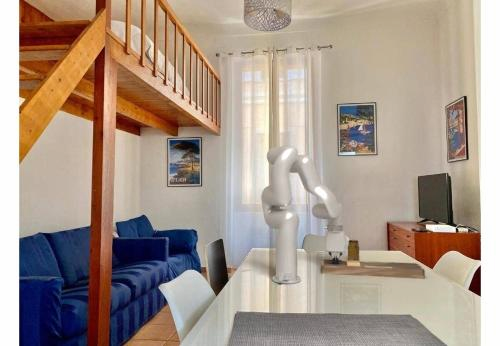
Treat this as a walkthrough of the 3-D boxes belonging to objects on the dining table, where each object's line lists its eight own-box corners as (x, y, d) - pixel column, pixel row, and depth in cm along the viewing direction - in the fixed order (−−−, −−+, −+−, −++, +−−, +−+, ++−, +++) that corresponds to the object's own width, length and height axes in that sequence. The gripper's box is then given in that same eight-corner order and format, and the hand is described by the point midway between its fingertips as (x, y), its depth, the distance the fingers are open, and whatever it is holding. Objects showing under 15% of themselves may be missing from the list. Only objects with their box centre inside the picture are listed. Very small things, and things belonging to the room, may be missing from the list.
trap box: (424, 278, 169) (424, 269, 169) (321, 273, 179) (321, 264, 179) (418, 272, 181) (418, 263, 181) (322, 267, 191) (322, 259, 191)
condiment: (352, 260, 208) (352, 239, 209) (365, 263, 202) (365, 240, 202) (344, 262, 204) (344, 240, 204) (357, 265, 197) (357, 242, 197)
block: (360, 274, 178) (360, 263, 178) (347, 273, 179) (347, 263, 179) (359, 271, 184) (358, 261, 184) (346, 270, 185) (346, 260, 185)
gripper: (319, 229, 182) (319, 266, 182) (351, 229, 179) (351, 268, 178) (320, 227, 189) (320, 263, 189) (350, 227, 186) (350, 264, 186)
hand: (335, 265), depth 184 cm, fingers closed
